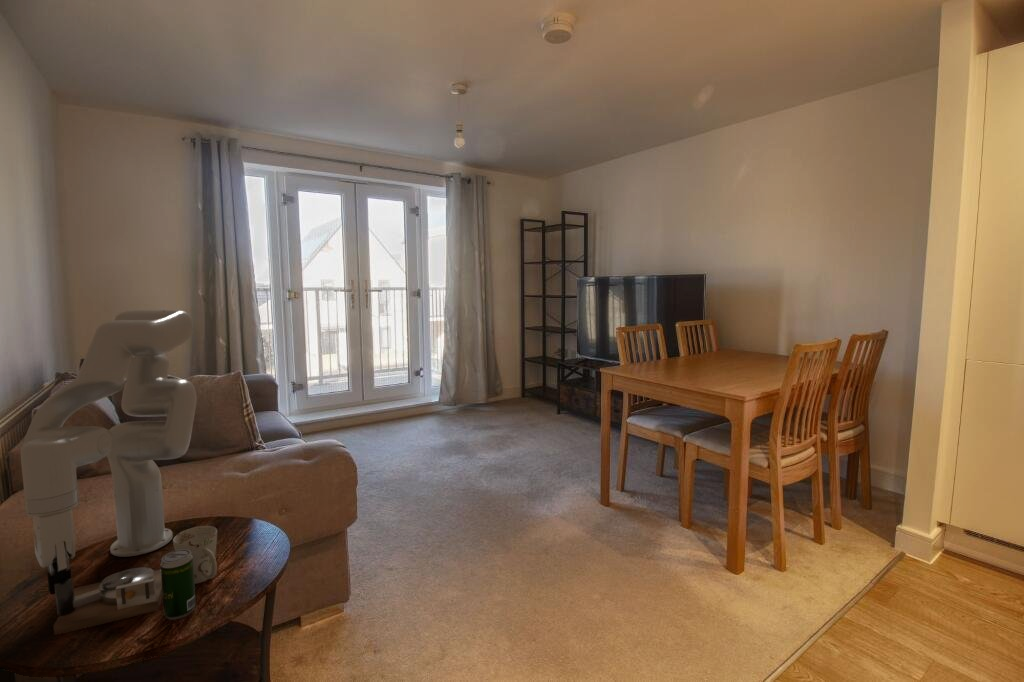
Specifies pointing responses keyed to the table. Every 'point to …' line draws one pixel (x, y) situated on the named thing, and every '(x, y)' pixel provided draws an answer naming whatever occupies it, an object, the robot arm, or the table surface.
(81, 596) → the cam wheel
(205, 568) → the mug
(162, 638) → the table surface
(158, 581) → the levelling stand
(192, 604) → the beer can
